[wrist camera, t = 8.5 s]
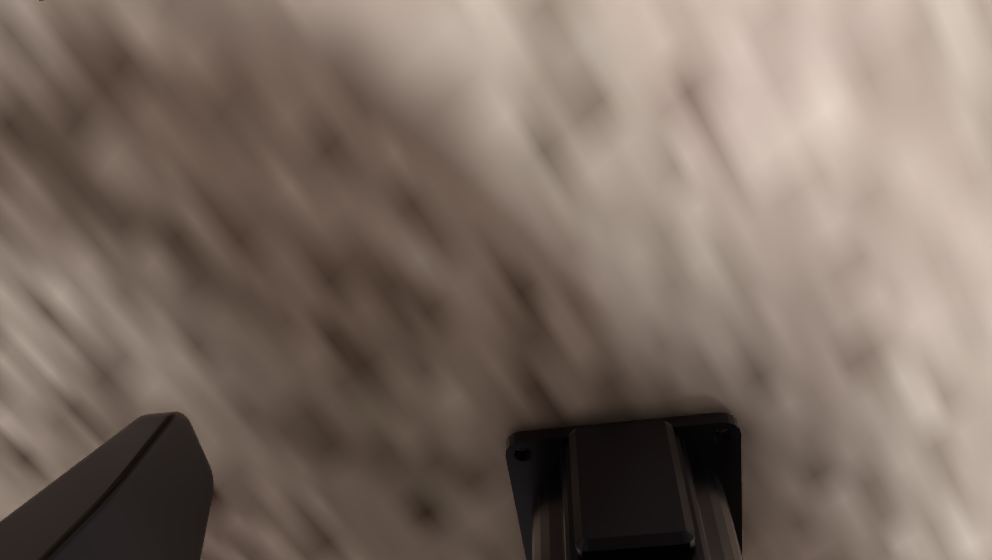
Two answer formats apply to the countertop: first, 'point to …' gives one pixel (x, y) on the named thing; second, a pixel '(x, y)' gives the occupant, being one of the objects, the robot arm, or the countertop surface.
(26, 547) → the robot arm
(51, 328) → the countertop surface
